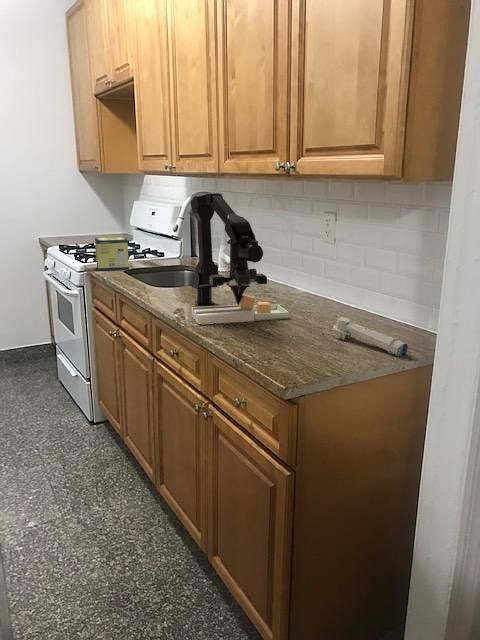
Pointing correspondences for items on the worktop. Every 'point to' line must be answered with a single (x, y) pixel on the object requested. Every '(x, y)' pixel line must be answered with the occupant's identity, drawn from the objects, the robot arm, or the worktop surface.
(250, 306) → the orange-brown cube
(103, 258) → the protein box
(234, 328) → the worktop surface
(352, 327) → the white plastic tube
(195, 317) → the slot board
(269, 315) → the tray
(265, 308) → the orange cube
